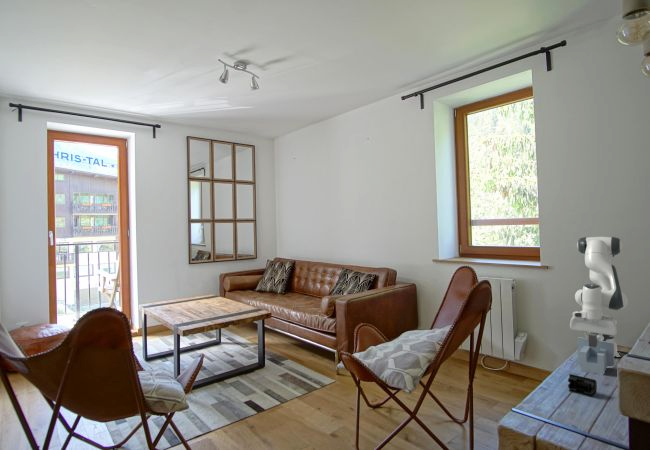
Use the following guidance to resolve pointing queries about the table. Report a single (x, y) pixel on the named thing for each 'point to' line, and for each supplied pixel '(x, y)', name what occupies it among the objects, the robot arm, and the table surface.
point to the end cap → (582, 385)
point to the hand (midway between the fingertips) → (592, 340)
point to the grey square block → (595, 356)
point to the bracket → (592, 340)
